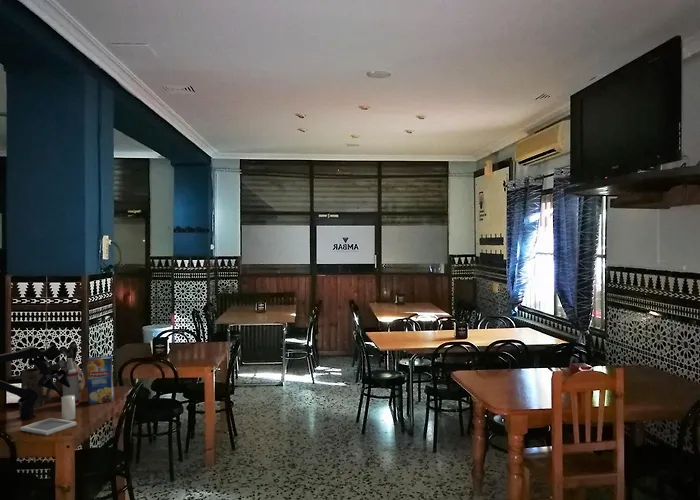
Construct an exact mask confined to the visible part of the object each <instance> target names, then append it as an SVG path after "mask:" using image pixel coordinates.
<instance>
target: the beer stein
mask: <svg viewBox="0 0 700 500" xmlns="http://www.w3.org/2000/svg"><path fill="white" fill-rule="evenodd" d="M39 372H40V371H39V370H38V369H37V368H36V367H33V368H31V367H29V368H25V369H23V370H22V372H21V376H22V379H21V380H22V385H21V386H22V387H21V388H24V386H26V387H28V388H32V389H34V390H35V392H36V393H37V394H38V398H37V400H36V401H35V403H34V406H33V409H35V408H39V407H42V406H44V405H45V401H44V400H50V399H51V398H52V396H51V395H50V394H51V391H52V390H51V389H48V388H46V393H45V387H42V386H40V387H39V385H38V384H37V381H38V380H39V379H40V378H41V377H42V376H43V375H42V374H39Z"/></svg>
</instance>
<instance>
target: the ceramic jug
mask: <svg viewBox="0 0 700 500" xmlns="http://www.w3.org/2000/svg"><path fill="white" fill-rule="evenodd" d="M61 351H62V352H61V353H62V355H64V356H65V357H67V358H66V360H65V362H66V363H65V367H62V368H60V369H59V371H60V370H61V369H64V368H67V363H68V358H72V362H73V367H74V369H76V370H78V385H79V395H80V393H82V391H83V389H84V388H85V385H86V381H85V376H84V373H83V371H82V370H81V368H80V366H79V365H78V364H77V363H76V358H77V352H78V345H77V344H76V343H71V344H70V345H69V347H68V348H67V347H66V348H64V349H62V350H61ZM54 383H55V385H56V386H57V387H58V389H59V392H57V391H55V392H56V394H58V396H59V398H60V400H61V397H63V384H61V383H60V382H58V380H57V379H56V378H55V381H54Z"/></svg>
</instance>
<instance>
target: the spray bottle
mask: <svg viewBox="0 0 700 500" xmlns="http://www.w3.org/2000/svg"><path fill="white" fill-rule="evenodd" d="M67 369H68V370H69V372H68V374H67V378H68V381H69V384H70V387H69V388H68V387H66V386H65V385H63V396H66V395H75V406H78V405H79V404H80V396H79V395H80V394H79V385H78V370H76V369H74V367H73V362H72V358H68V363H67Z"/></svg>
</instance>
